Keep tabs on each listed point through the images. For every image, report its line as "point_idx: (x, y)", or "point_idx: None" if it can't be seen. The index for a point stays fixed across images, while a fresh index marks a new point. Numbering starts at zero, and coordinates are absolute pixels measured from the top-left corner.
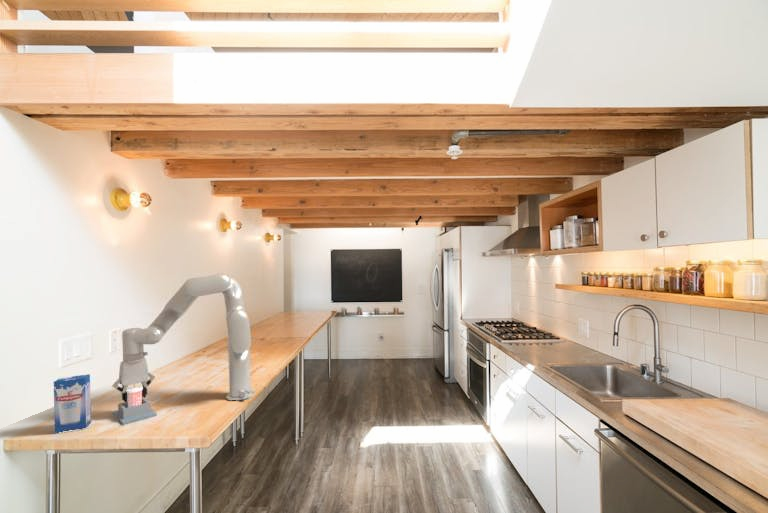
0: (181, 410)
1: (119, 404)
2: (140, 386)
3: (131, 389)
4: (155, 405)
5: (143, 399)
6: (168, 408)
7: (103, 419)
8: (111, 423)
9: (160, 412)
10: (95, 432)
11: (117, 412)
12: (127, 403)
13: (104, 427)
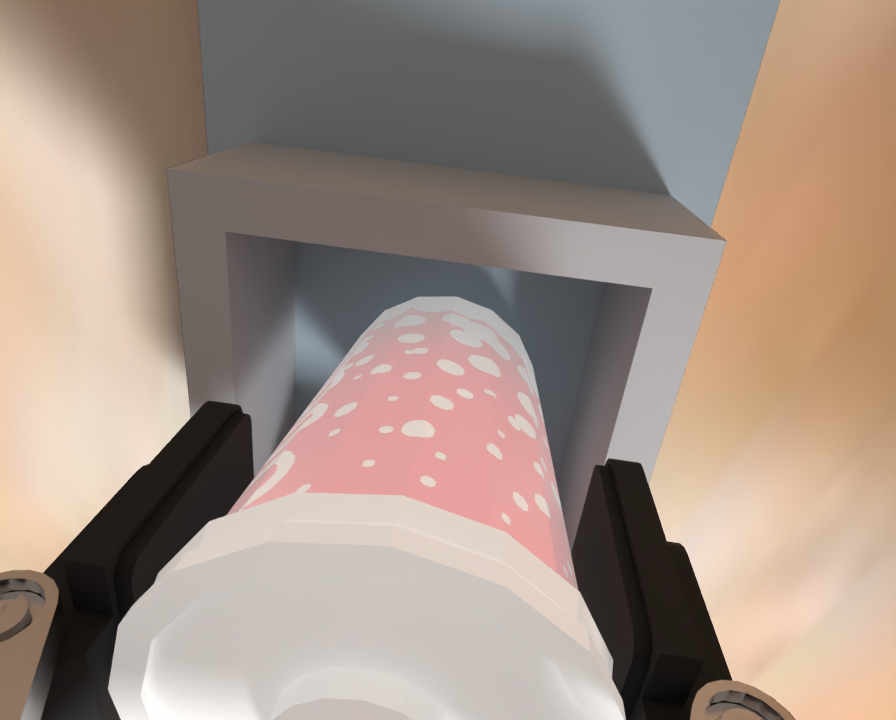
0: (825, 677)
1: (185, 239)
2: (596, 707)
3: (275, 704)
4: (860, 173)
5: (631, 369)
6: (823, 500)
7: (65, 93)
8: (154, 383)
9: (674, 542)
10: (4, 497)
11: (249, 65)
12: (349, 238)
13: (81, 440)
